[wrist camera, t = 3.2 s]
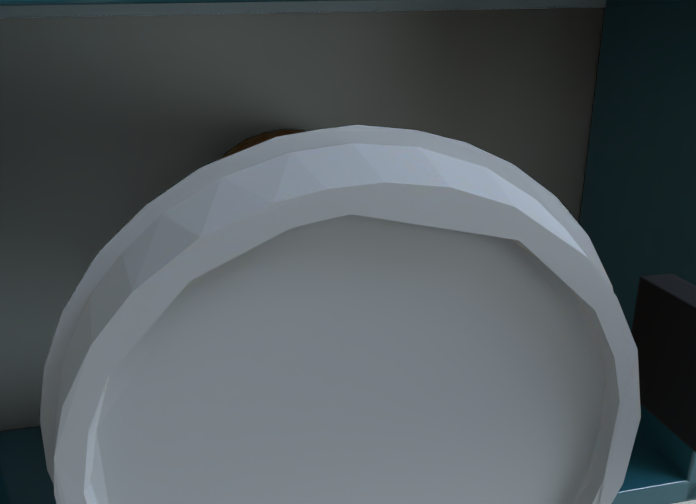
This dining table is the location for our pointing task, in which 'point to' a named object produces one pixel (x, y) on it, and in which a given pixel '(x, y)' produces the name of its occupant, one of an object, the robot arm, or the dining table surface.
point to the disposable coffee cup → (344, 337)
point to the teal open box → (598, 193)
